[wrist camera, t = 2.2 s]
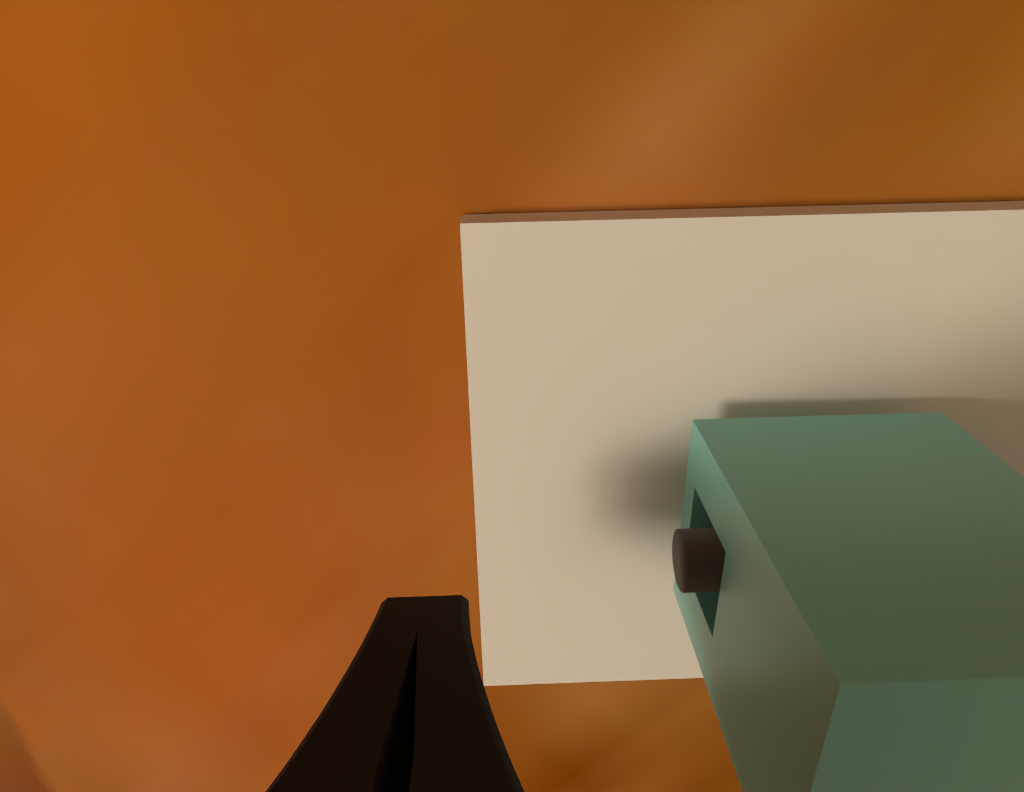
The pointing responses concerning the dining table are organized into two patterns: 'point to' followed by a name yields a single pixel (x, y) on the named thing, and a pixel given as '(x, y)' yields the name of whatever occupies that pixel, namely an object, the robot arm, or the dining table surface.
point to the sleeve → (861, 602)
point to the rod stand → (697, 390)
